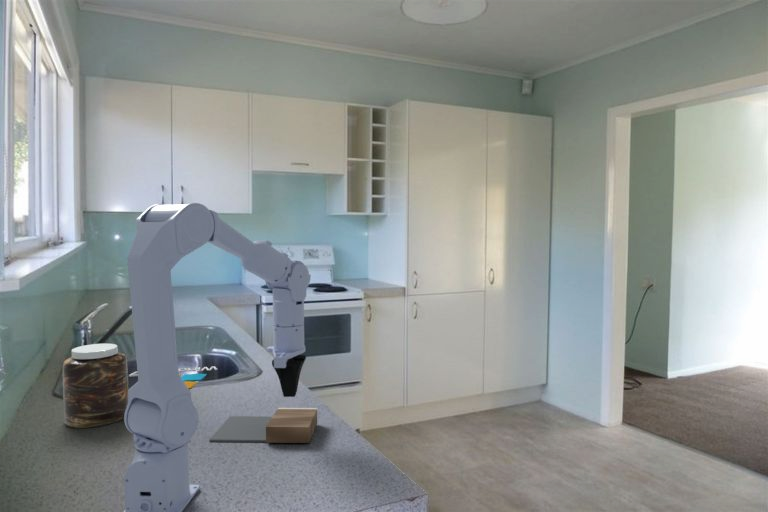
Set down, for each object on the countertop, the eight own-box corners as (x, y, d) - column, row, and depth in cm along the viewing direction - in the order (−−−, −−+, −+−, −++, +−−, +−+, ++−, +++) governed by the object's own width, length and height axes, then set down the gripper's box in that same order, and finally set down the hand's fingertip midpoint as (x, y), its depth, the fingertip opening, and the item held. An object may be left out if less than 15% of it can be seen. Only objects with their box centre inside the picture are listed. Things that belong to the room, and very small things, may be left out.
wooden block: (308, 427, 99) (317, 408, 109) (265, 426, 100) (278, 407, 109) (309, 442, 99) (317, 422, 109) (266, 442, 100) (278, 422, 110)
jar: (105, 405, 122) (102, 339, 121) (140, 413, 116) (138, 344, 115) (52, 422, 111) (49, 350, 110) (88, 432, 106) (85, 357, 105)
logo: (217, 364, 153) (215, 385, 134) (217, 368, 153) (215, 389, 134) (131, 370, 147) (115, 393, 128) (131, 374, 147) (115, 397, 128)
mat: (304, 442, 101) (304, 440, 101) (209, 441, 101) (209, 439, 101) (315, 418, 113) (315, 417, 113) (229, 418, 113) (229, 416, 113)
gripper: (277, 317, 108) (278, 383, 109) (256, 332, 94) (257, 408, 95) (312, 317, 108) (313, 384, 109) (296, 332, 93) (297, 409, 94)
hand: (289, 395), depth 102 cm, fingers closed
